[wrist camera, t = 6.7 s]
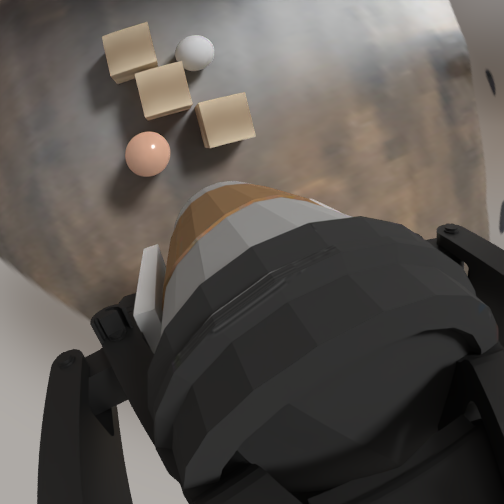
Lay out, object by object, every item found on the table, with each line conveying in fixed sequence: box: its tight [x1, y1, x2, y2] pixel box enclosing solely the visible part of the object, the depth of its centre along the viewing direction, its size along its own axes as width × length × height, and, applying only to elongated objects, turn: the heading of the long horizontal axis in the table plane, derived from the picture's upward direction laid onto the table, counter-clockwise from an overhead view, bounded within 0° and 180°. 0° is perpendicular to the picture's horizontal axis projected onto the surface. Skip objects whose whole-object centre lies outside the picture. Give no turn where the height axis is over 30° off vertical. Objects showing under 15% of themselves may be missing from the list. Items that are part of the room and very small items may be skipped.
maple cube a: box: [102, 22, 158, 84], centre depth 23 cm, size 4×4×4 cm
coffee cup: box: [148, 181, 498, 504], centre depth 12 cm, size 8×8×15 cm
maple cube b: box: [135, 61, 192, 121], centre depth 25 cm, size 4×4×4 cm
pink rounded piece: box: [125, 132, 170, 177], centre depth 26 cm, size 4×4×5 cm
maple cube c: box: [195, 92, 256, 148], centre depth 27 cm, size 4×4×4 cm
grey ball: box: [175, 35, 214, 71], centre depth 24 cm, size 4×4×4 cm
